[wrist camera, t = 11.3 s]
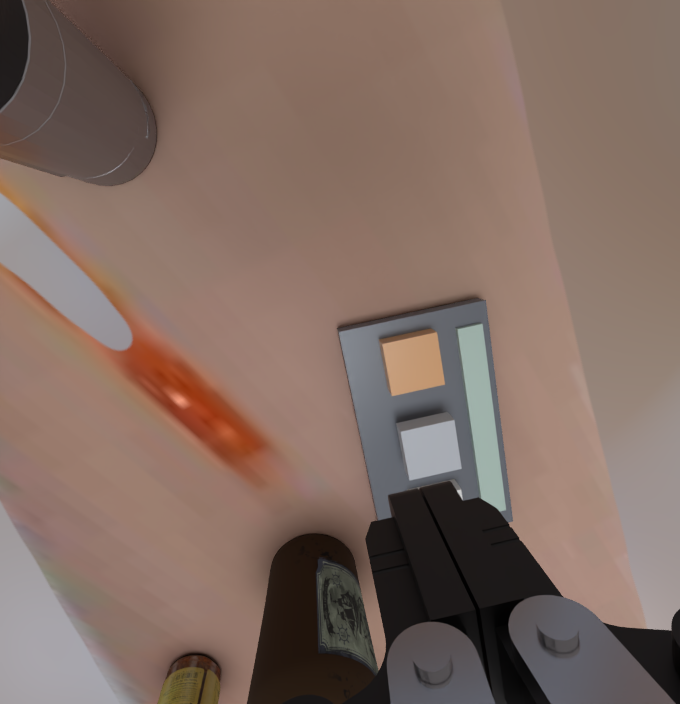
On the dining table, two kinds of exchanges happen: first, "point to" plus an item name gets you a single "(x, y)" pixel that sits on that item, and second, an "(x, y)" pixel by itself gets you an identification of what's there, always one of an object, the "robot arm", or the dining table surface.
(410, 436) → the key grey
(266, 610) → the dark brown glass bottle
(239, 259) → the dining table surface
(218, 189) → the dining table surface
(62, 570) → the dining table surface
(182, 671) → the sauce bottle
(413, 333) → the key orange
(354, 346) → the keypad board
